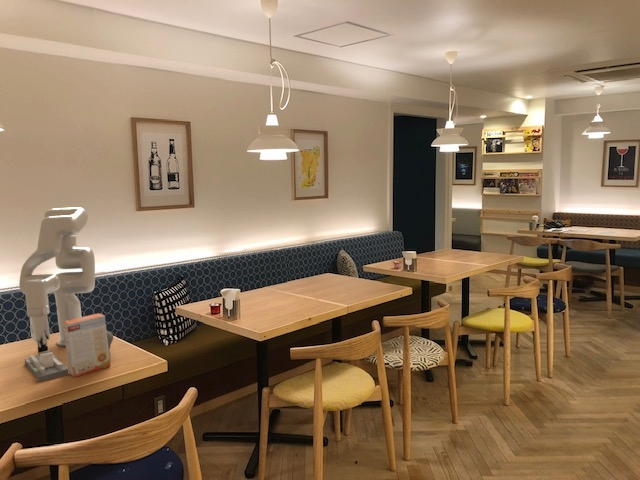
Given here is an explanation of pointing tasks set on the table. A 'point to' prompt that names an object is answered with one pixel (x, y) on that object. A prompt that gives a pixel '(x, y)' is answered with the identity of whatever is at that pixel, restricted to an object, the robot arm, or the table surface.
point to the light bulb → (109, 339)
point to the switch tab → (46, 358)
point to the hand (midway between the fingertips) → (43, 355)
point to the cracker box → (86, 344)
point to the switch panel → (42, 372)
